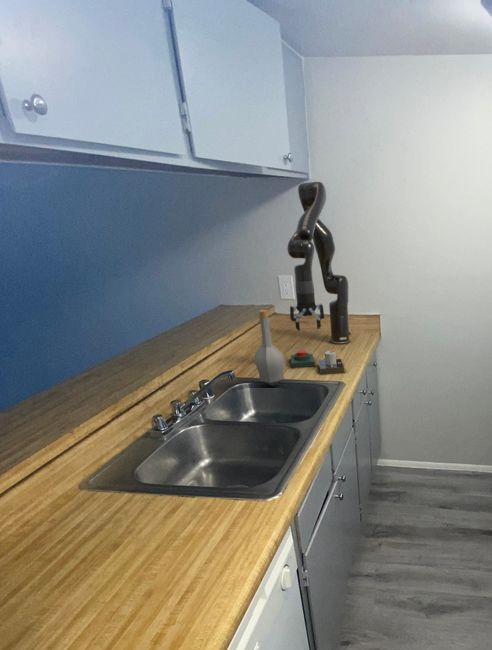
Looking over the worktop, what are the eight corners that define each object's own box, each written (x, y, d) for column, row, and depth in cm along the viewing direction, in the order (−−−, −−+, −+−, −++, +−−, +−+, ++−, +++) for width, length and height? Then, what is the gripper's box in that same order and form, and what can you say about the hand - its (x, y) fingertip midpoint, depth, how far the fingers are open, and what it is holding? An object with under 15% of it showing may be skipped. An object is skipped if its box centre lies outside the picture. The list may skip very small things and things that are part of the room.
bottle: (292, 382, 193) (283, 308, 179) (279, 392, 184) (269, 315, 169) (266, 380, 195) (256, 306, 181) (253, 390, 186) (241, 313, 172)
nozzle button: (297, 354, 215) (296, 350, 214) (306, 353, 216) (305, 350, 215) (297, 357, 212) (297, 353, 211) (306, 356, 212) (306, 352, 212)
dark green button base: (291, 359, 219) (290, 351, 218) (312, 358, 222) (312, 350, 220) (291, 368, 209) (290, 359, 207) (314, 366, 211) (313, 357, 209)
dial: (330, 366, 204) (329, 354, 202) (323, 363, 207) (322, 351, 205) (338, 363, 207) (337, 351, 205) (331, 361, 210) (330, 349, 208)
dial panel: (318, 365, 213) (318, 359, 211) (341, 363, 215) (340, 358, 213) (321, 374, 202) (320, 368, 201) (344, 372, 204) (343, 366, 203)
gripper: (320, 288, 203) (323, 326, 211) (286, 290, 199) (290, 328, 207) (323, 291, 197) (326, 330, 205) (288, 293, 193) (293, 333, 201)
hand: (308, 329), depth 206 cm, fingers open, 8 cm apart
